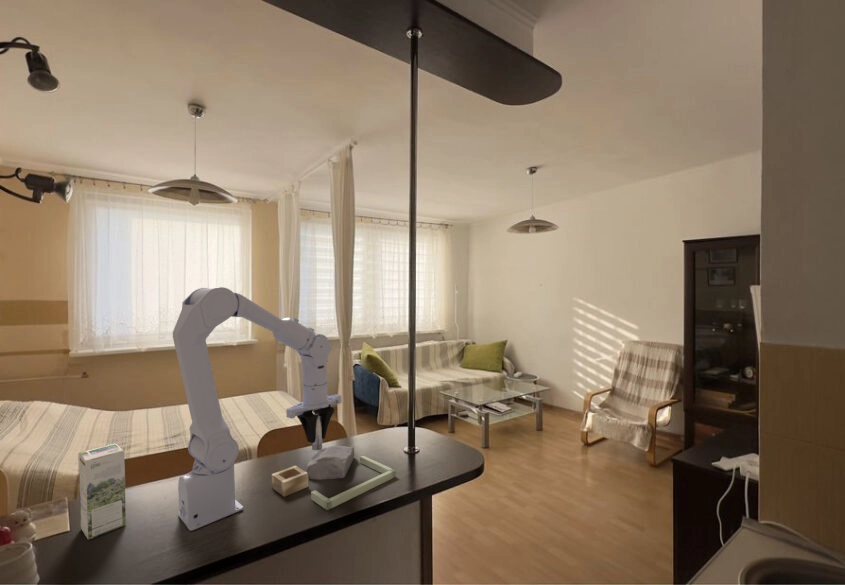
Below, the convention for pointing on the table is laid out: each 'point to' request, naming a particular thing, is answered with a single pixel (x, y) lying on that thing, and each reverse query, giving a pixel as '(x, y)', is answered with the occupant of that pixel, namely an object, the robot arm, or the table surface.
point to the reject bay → (359, 489)
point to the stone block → (330, 463)
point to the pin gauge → (318, 434)
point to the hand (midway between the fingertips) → (316, 439)
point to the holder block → (289, 480)
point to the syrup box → (102, 490)
